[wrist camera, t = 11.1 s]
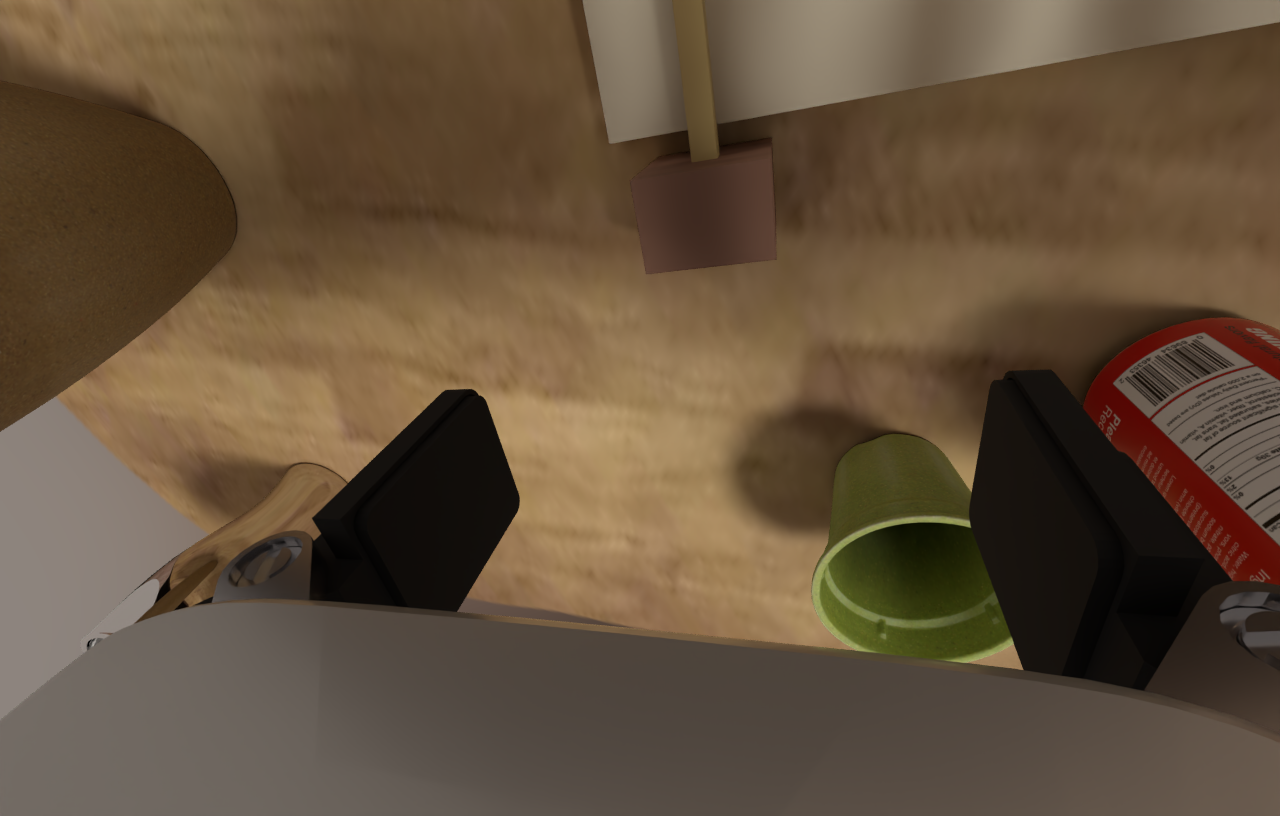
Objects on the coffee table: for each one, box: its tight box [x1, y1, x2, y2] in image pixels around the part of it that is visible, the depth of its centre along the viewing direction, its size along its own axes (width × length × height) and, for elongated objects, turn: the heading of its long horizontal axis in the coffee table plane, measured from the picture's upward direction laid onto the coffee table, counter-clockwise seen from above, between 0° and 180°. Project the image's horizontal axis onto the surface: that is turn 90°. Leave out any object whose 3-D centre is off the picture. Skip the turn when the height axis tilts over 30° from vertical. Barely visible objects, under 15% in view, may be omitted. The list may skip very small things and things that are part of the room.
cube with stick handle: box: [630, 0, 776, 274], centre depth 21 cm, size 5×11×6 cm, turn 11°
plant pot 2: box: [811, 434, 1014, 663], centre depth 28 cm, size 9×9×9 cm
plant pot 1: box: [0, 81, 236, 432], centre depth 25 cm, size 15×15×16 cm
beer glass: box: [80, 463, 347, 653], centre depth 36 cm, size 7×7×15 cm
